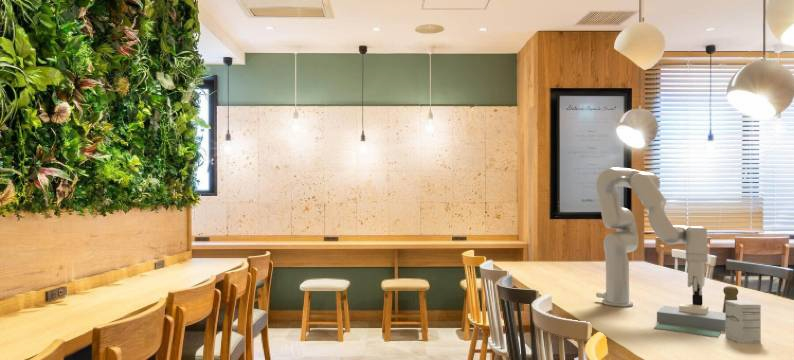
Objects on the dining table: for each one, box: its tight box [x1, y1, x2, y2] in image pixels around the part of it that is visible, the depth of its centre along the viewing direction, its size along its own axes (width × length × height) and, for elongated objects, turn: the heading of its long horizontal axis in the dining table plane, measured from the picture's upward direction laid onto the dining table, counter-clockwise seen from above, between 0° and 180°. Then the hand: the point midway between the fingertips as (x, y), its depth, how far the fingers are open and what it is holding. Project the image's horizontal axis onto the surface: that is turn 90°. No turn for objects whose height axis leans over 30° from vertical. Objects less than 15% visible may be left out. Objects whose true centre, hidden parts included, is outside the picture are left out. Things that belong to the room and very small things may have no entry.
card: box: [678, 302, 709, 314], centre depth 206 cm, size 9×6×2 cm, turn 54°
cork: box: [721, 285, 739, 313], centre depth 220 cm, size 6×6×11 cm
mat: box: [653, 323, 722, 338], centre depth 193 cm, size 20×10×1 cm, turn 54°
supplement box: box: [725, 299, 762, 344], centre depth 180 cm, size 7×7×13 cm
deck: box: [656, 305, 726, 332], centre depth 204 cm, size 22×14×4 cm, turn 54°
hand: (697, 305), depth 212 cm, fingers closed
